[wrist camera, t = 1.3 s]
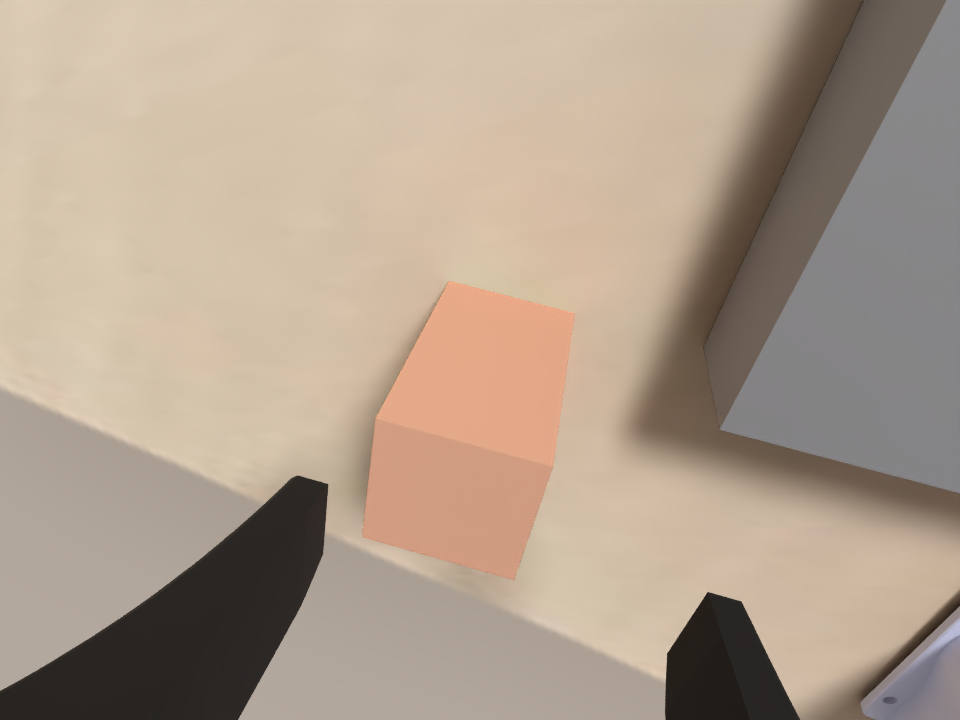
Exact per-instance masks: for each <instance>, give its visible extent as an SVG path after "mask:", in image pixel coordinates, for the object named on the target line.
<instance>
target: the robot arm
mask: <svg viewBox="0 0 960 720" xmlns="http://www.w3.org/2000/svg"><path fill="white" fill-rule="evenodd" d="M327 495H328V484H326V483H322V482H318V481H315V480H311V479H308V478H304V477H301V476H295V477H293V478H291V479H290V480H289V481H288V482H287V483H286V484H285V485H284V486H283V487H282V488H281V489H280V490H279V491H278V492H277V493H276V494H275V495H274V496H273V497H272V498H270V499H269V500H268V501H267V502H266V503H265V504H264V505H263V506H262V507H261V508H260V509H259V510H257V511H256V513H254V514H253V515H252V516H251V517H250V518H248V520H246V521H245V522H244V523H243V524H242V525H241V526H240V527H238V528H237V529H236V530H235V531H234V532H232V533H231V534H230V535H229V536H228V537H226V538H225V539H224V540H223V541H222V542H220V543H219V544H218V545H217V546H216V547H215V548H213V549H212V550H211V551H210V552H208V553H207V554H206V555H205V556H204V557H203V558H201V559H200V560H199V561H197V562H196V563H195V564H194V565H192V566H191V567H190V568H188V569H187V570H186V571H184V572H183V573H182V574H180V575H179V576H178V577H177V578H175V579H174V580H173V581H171V582H170V583H169V584H167V585H166V586H165V587H163V588H162V589H161V590H159V591H158V592H157V593H155V594H154V595H153V596H151V597H150V598H149V599H147V600H146V601H145V602H143V603H141V604H140V605H139V606H137V607H136V608H134V609H133V610H132V611H130V612H129V613H127V614H126V615H124V616H123V617H121V618H120V619H118V620H117V621H115V622H114V623H112V624H111V625H109V626H108V627H106V628H105V629H103V630H102V631H100V632H99V633H97V634H96V635H94V636H93V637H91V638H89V639H88V640H86V641H85V642H83V643H81V644H80V645H78V646H76V647H75V648H73V649H72V650H70V651H68V652H67V653H65V654H63V655H62V656H60V657H59V658H57V659H55V660H54V661H52V662H50V663H49V664H47V665H45V666H44V667H42V668H40V669H39V670H37V671H35V672H33V673H32V674H30V675H28V676H26V677H25V678H23V679H21V680H19V681H18V682H16V683H14V684H12V685H10V686H9V687H7V688H5V689H3V690H1V691H0V720H238V719H239V717H240V715H241V713H242V711H243V710H244V708H245V706H246V704H247V702H248V700H249V699H250V697H251V695H252V693H253V692H254V690H255V688H256V686H257V684H258V683H259V681H260V679H261V677H262V675H263V674H264V672H265V670H266V668H267V667H268V665H269V663H270V661H271V659H272V658H273V656H274V654H275V652H276V650H277V649H278V647H279V645H280V643H281V641H282V640H283V638H284V636H285V634H286V632H287V630H288V628H289V627H290V625H291V623H292V621H293V620H294V618H295V616H296V614H297V612H298V610H299V608H300V607H301V605H302V602H303V600H304V598H305V596H306V593H307V591H308V589H309V586H310V584H311V581H312V579H313V577H314V574H315V572H316V570H317V567H318V564H319V562H320V560H321V557H322V555H323V547H324V534H325V521H326V508H327ZM665 701H666V702H665V716H666V720H800V718H799V716H798V714H797V713H796V711H795V709H794V707H793V705H792V703H791V701H790V699H789V697H788V695H787V693H786V691H785V689H784V687H783V685H782V683H781V681H780V679H779V677H778V675H777V673H776V671H775V669H774V667H773V665H772V663H771V661H770V659H769V657H768V655H767V653H766V651H765V649H764V647H763V645H762V643H761V641H760V639H759V636H758V634H757V632H756V630H755V628H754V626H753V624H752V622H751V620H750V618H749V616H748V614H747V612H746V610H745V608H744V606H743V604H742V602H741V601H738V600H734V599H731V598H727V597H723V596H720V595H716V594H713V593H709V592H708V593H707V594H706V596H705V597H704V599H703V600H702V602H701V603H700V605H699V606H698V608H697V609H696V611H695V612H694V614H693V615H692V617H691V618H690V620H689V621H688V623H687V625H686V626H685V628H684V629H683V631H682V632H681V634H680V635H679V637H678V638H677V640H676V641H675V643H674V644H673V646H672V647H671V649H670V650H669V652H668V653H667V671H666V699H665ZM860 705H861V708H862V712H863V714H864V715H865V716H867V717H869V718H872V719H875V720H960V606H959V607H958V608H957V609H956V610H955V611H954V612H953V613H952V614H951V615H950V616H949V617H948V618H947V619H946V620H945V621H944V622H943V623H942V624H941V625H940V626H939V627H938V628H937V629H936V630H935V631H934V632H933V633H931V634H930V635H929V636H928V637H927V638H926V639H925V640H924V641H923V642H922V643H921V644H920V645H919V646H918V647H917V648H916V649H915V650H914V651H913V652H912V653H911V654H910V655H909V656H908V657H907V658H906V659H905V660H904V661H903V662H901V663H900V664H899V665H898V666H897V667H896V668H895V669H894V670H893V671H892V672H891V673H890V674H889V675H888V676H887V677H886V678H885V679H884V680H883V681H882V682H881V683H880V684H879V685H878V686H877V687H876V688H875V689H874V690H872V691H871V692H870V693H869V694H868V695H867V696H866V697H865V698H864V699H863V700H862V701H861V703H860Z"/></svg>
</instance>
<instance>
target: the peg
mask: <svg viewBox="0 0 960 720" xmlns="http://www.w3.org/2000/svg"><path fill="white" fill-rule="evenodd" d="M574 314H575V313H571V312H568V311H564V310H560V309H556V308H552V307H548V306H544V305H540V304H536V303H533V302H529V301H525V300H521V299H517V298H513V297H509V296H505V295H501V294H498V293H494V292H490V291H486V290H482V289H478V288H474V287H470V286H466V285H463V284H459V283H455V282H451V281H449V282H448V284H447V286H446V288H445V290H444V291H443V293H442V295H441V297H440V299H439V301H438V303H437V305H436V306H435V308H434V310H433V312H432V314H431V316H430V318H429V320H428V321H427V323H426V325H425V327H424V329H423V331H422V333H421V334H420V336H419V338H418V340H417V342H416V344H415V346H414V348H413V349H412V351H411V353H410V355H409V357H408V359H407V361H406V363H405V364H404V366H403V368H402V370H401V372H400V374H399V376H398V378H397V379H396V381H395V383H394V385H393V387H392V389H391V391H390V392H389V394H388V396H387V398H386V400H385V402H384V404H383V406H382V407H381V409H380V411H379V413H378V415H377V417H376V419H375V428H374V437H373V446H372V454H371V463H370V472H369V480H368V489H367V498H366V507H365V515H364V524H363V533H362V537H364V538H368V539H371V540H375V541H378V542H382V543H385V544H389V545H392V546H396V547H399V548H403V549H406V550H410V551H413V552H417V553H420V554H424V555H427V556H431V557H435V558H438V559H442V560H445V561H449V562H452V563H456V564H459V565H463V566H466V567H470V568H473V569H477V570H480V571H484V572H487V573H491V574H494V575H498V576H501V577H505V578H509V579H512V580H514V579H515V576H516V573H517V570H518V567H519V564H520V561H521V558H522V556H523V553H524V550H525V547H526V544H527V541H528V538H529V535H530V532H531V529H532V526H533V524H534V521H535V518H536V515H537V512H538V509H539V506H540V503H541V500H542V497H543V495H544V492H545V489H546V486H547V483H548V480H549V477H550V474H551V471H552V468H553V464H554V456H555V449H556V442H557V435H558V428H559V421H560V414H561V407H562V399H563V392H564V385H565V378H566V371H567V364H568V357H569V350H570V343H571V335H572V328H573V321H574Z"/></svg>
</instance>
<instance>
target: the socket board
mask: <svg viewBox="0 0 960 720" xmlns="http://www.w3.org/2000/svg"><path fill="white" fill-rule="evenodd" d="M703 348H704V353H705V358H706V364H707V369H708V374H709V379H710V384H711V389H712V394H713V399H714V404H715V409H716V414H717V419H718V424H719V429H720V430H722V431H726V432H730V433H733V434H737V435H741V436H745V437H749V438H752V439H756V440H760V441H764V442H767V443H771V444H775V445H779V446H783V447H786V448H790V449H794V450H798V451H801V452H805V453H809V454H813V455H817V456H820V457H824V458H828V459H832V460H836V461H839V462H843V463H847V464H851V465H854V466H858V467H862V468H866V469H870V470H873V471H877V472H881V473H885V474H889V475H892V476H896V477H900V478H904V479H907V480H911V481H915V482H919V483H923V484H926V485H930V486H934V487H938V488H941V489H945V490H949V491H953V492H957V493H960V0H864V1H863V3H862V6H861V8H860V10H859V12H858V14H857V16H856V18H855V21H854V23H853V25H852V27H851V29H850V31H849V34H848V36H847V38H846V40H845V42H844V44H843V47H842V49H841V51H840V53H839V55H838V57H837V59H836V62H835V64H834V66H833V68H832V70H831V72H830V75H829V77H828V79H827V81H826V83H825V85H824V88H823V90H822V92H821V94H820V96H819V98H818V101H817V103H816V105H815V107H814V109H813V111H812V113H811V116H810V118H809V120H808V122H807V124H806V126H805V129H804V131H803V133H802V135H801V137H800V139H799V142H798V144H797V146H796V148H795V150H794V152H793V155H792V157H791V159H790V161H789V163H788V165H787V167H786V170H785V172H784V174H783V176H782V178H781V180H780V183H779V185H778V187H777V189H776V191H775V193H774V196H773V198H772V200H771V202H770V204H769V206H768V209H767V211H766V213H765V215H764V217H763V219H762V221H761V224H760V226H759V228H758V230H757V232H756V234H755V237H754V239H753V241H752V243H751V245H750V247H749V250H748V252H747V254H746V256H745V258H744V260H743V262H742V265H741V267H740V269H739V271H738V273H737V275H736V278H735V280H734V282H733V284H732V286H731V288H730V291H729V293H728V295H727V297H726V299H725V301H724V304H723V306H722V308H721V310H720V312H719V314H718V316H717V319H716V321H715V323H714V325H713V327H712V329H711V332H710V334H709V336H708V338H707V340H706V342H705V345H704V347H703Z"/></svg>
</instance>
